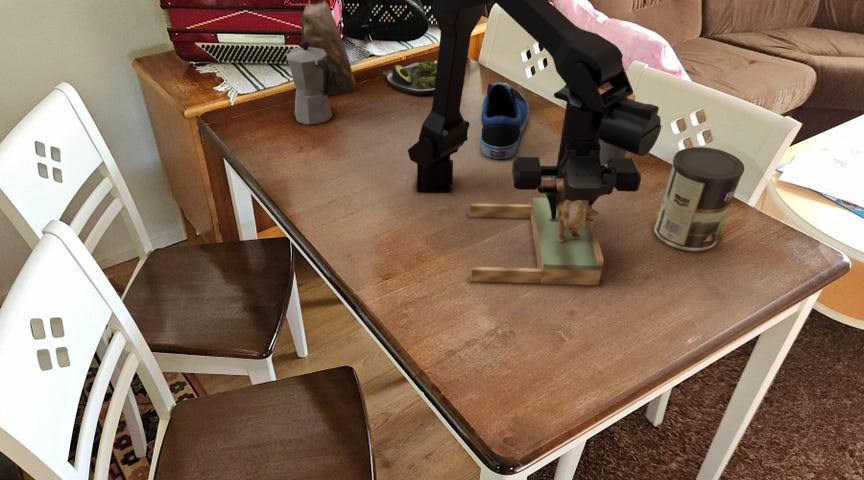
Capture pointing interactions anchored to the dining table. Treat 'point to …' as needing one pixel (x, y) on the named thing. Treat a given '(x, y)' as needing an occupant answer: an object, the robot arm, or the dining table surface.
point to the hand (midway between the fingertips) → (566, 218)
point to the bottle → (612, 148)
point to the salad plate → (414, 78)
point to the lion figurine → (572, 214)
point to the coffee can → (697, 198)
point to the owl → (328, 46)
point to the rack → (545, 248)
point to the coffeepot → (310, 84)
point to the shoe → (502, 120)
